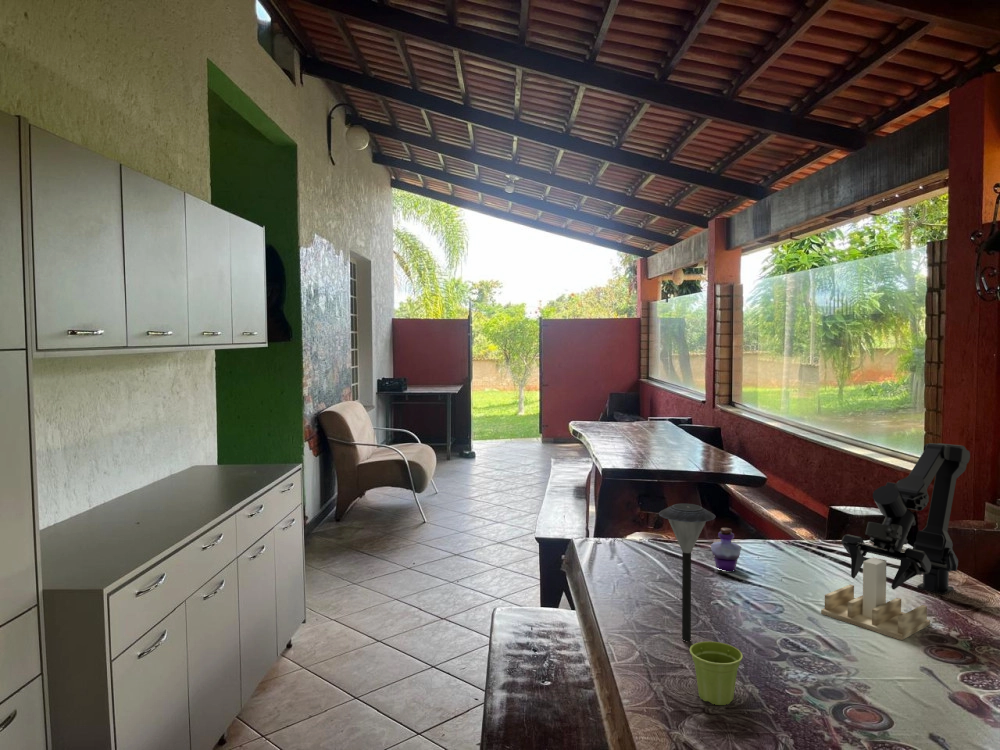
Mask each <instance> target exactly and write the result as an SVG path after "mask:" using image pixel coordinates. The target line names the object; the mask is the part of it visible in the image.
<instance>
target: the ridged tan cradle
mask: <svg viewBox="0 0 1000 750" xmlns="http://www.w3.org/2000/svg"><path fill="white" fill-rule="evenodd" d="M820 610H821V611H820V614H821V615H825V616H827V617H830V618H833V619H836V620H839V621H842V622H845V623H847V624H848V623H849V624H852V625H854V626H858V627H860V628H863V629H867V630H870V631H872V632H875V633H879V634H882V635H884V636H888V637H891V638H894V639H897V640H899V641H904V640H905V639H906V638H909V637H910V636H912V635H914V634H916V633H918V632H919V631H921V630H923V629H925V628H927V627H928V626H930V624H931V620H929V619H927V616H928V606H927V605H923V604H922V605H920V606H918V607H915V608H914V609H912V610H910V611H908V612H903V611H902V598H899V597H895V598H893V599H891V600H889V601H886V603H885V604H883V605H880V606H878V607H876V608H874V609H872V618H870V617H866V616H863V594H862V595H860V596H858V597H855V585H854V584H850V583H849V584H848V585H845V586H843V587H840V588H839V589H836V590H833V591H830V592H828V593H826V594H824V608H822V609H820Z"/></svg>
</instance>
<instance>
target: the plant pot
mask: <svg viewBox="0 0 1000 750" xmlns="http://www.w3.org/2000/svg"><path fill="white" fill-rule="evenodd" d="M689 653H690V655H691V656H692V657H691V658H692V661H693V663H694V669H695V677H696V684H697V692H698V696H699V698H700V699H701V700H702V699H703V701H704V702H709V703H711V704H712V705H714V704H715V705H714V706H725V705H726V704H727V705H730V703H732V701H734V695H735V688H736V681H737V674H738V668H739V667H740V664H741V663H740V662H741V661H742V660H743V657H744V656H743V653H742V651H741V650H739V649H738V647H735V646H733V645H731V644H728V643H724V642H720V641H719V642H718V641H708V640H707V641H699V642H696V643H694V644H691V645H690V647H689Z"/></svg>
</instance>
